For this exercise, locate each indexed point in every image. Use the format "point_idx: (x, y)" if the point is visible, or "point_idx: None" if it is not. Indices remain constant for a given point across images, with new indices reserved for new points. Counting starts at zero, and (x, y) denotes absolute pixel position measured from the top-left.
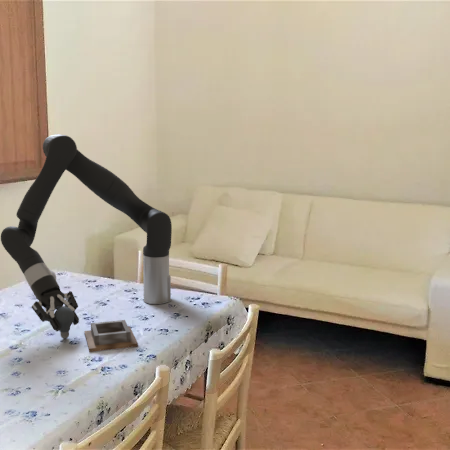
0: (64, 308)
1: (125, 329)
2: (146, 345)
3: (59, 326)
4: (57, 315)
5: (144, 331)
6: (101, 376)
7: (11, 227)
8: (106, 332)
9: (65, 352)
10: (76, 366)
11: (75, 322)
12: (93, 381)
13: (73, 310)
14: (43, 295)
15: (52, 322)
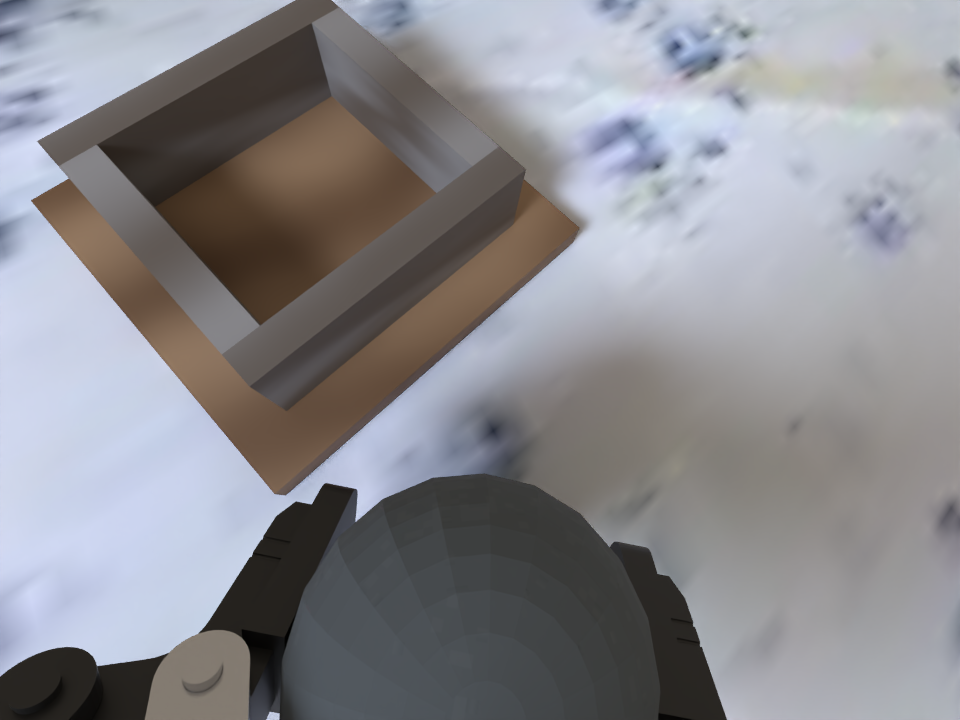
0: (522, 653)
1: (281, 36)
2: None
3: (640, 556)
4: (656, 683)
5: (69, 112)
6: (770, 33)
7: None
8: (235, 291)
9: (672, 385)
10: (775, 193)
11: (351, 524)
12: (832, 38)
13: (225, 637)
14: None
15: (709, 683)
